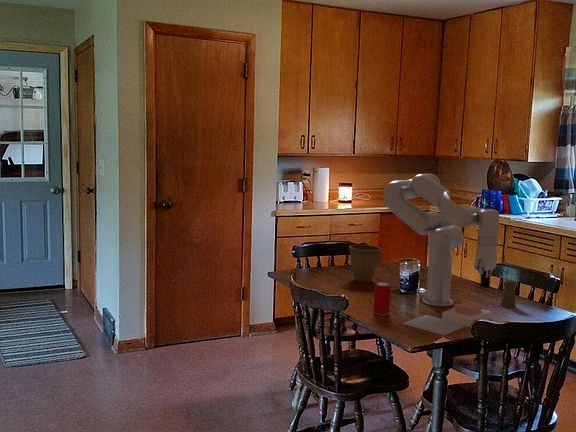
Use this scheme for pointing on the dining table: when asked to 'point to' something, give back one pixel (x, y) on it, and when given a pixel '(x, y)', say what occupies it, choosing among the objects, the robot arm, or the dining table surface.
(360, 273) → the plant pot
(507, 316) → the dining table surface
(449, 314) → the grey flat block
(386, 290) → the beverage can
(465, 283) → the dining table surface
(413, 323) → the mat
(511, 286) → the cork
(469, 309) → the terracotta tile
